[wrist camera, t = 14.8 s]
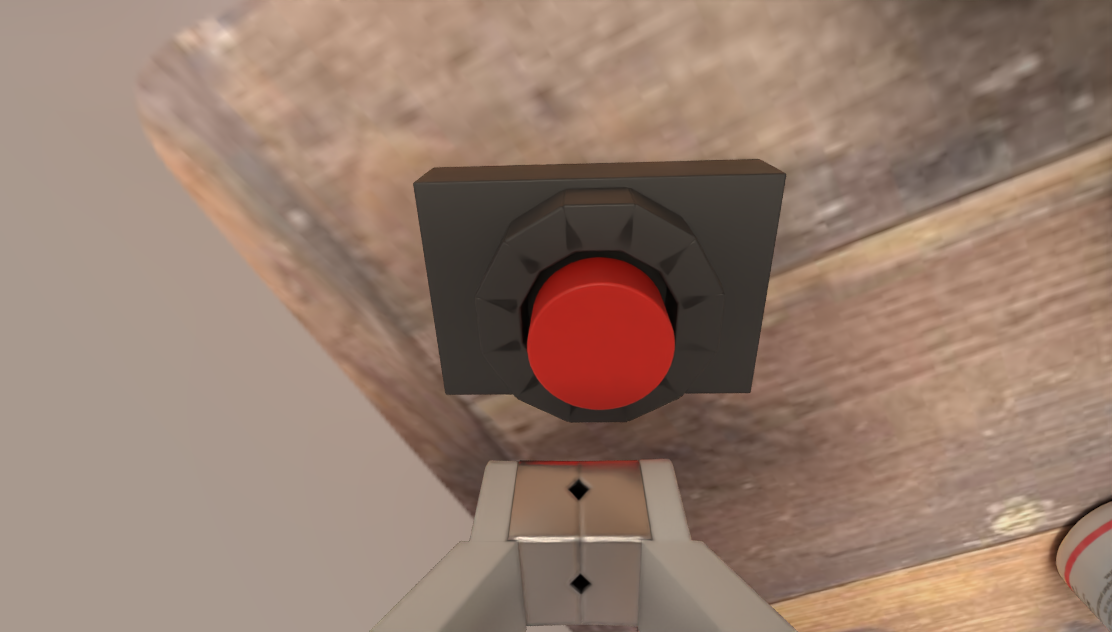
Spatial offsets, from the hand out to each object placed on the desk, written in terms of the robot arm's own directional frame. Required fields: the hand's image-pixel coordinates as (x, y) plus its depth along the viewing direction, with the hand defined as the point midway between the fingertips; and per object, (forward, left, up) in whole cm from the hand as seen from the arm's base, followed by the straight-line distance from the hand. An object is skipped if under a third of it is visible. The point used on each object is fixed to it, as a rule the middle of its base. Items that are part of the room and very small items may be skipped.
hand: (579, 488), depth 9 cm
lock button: (+1, 0, -6) cm, 6 cm away
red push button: (+1, 0, -10) cm, 10 cm away
